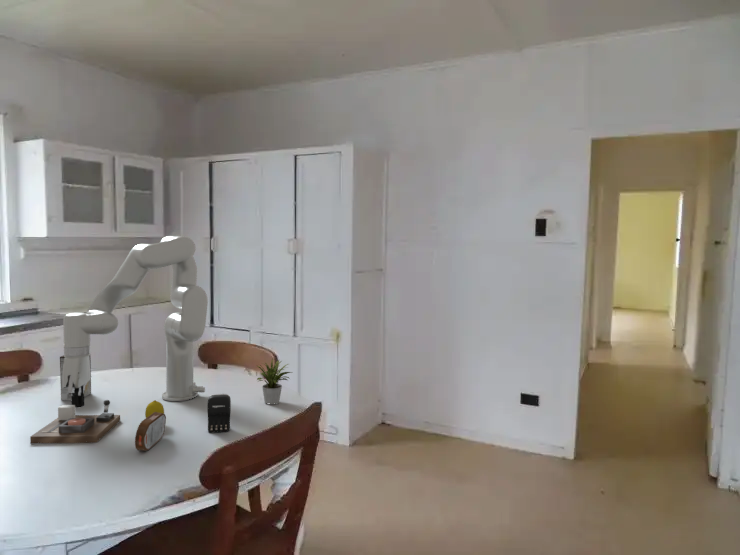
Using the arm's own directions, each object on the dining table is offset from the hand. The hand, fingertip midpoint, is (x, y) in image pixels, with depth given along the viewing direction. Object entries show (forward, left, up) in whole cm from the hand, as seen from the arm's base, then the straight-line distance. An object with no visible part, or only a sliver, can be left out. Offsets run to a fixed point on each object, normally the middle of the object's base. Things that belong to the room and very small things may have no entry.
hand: (78, 406), depth 170 cm
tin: (-31, +24, -4) cm, 39 cm away
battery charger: (-48, +14, -4) cm, 50 cm away
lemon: (-27, +8, -4) cm, 28 cm away
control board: (-6, +13, -4) cm, 14 cm away
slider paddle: (0, +8, -1) cm, 8 cm away
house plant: (-61, -13, -4) cm, 62 cm away
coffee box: (+10, -22, -4) cm, 25 cm away
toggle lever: (-12, +8, 0) cm, 14 cm away
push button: (-6, +16, -1) cm, 17 cm away
